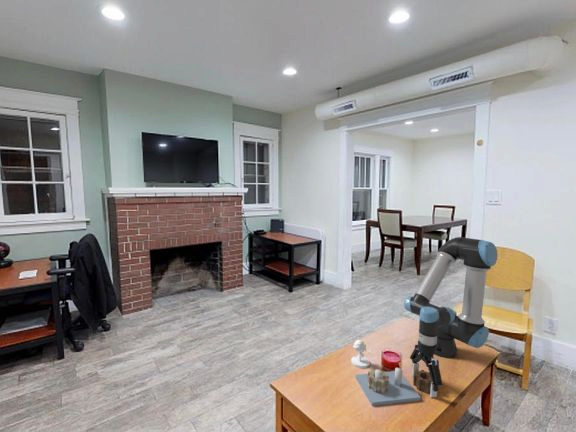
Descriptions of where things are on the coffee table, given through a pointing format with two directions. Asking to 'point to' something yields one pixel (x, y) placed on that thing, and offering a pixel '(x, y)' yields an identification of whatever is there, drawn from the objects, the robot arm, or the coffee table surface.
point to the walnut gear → (422, 380)
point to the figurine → (360, 355)
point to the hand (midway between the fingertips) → (423, 386)
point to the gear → (378, 382)
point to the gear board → (396, 392)
